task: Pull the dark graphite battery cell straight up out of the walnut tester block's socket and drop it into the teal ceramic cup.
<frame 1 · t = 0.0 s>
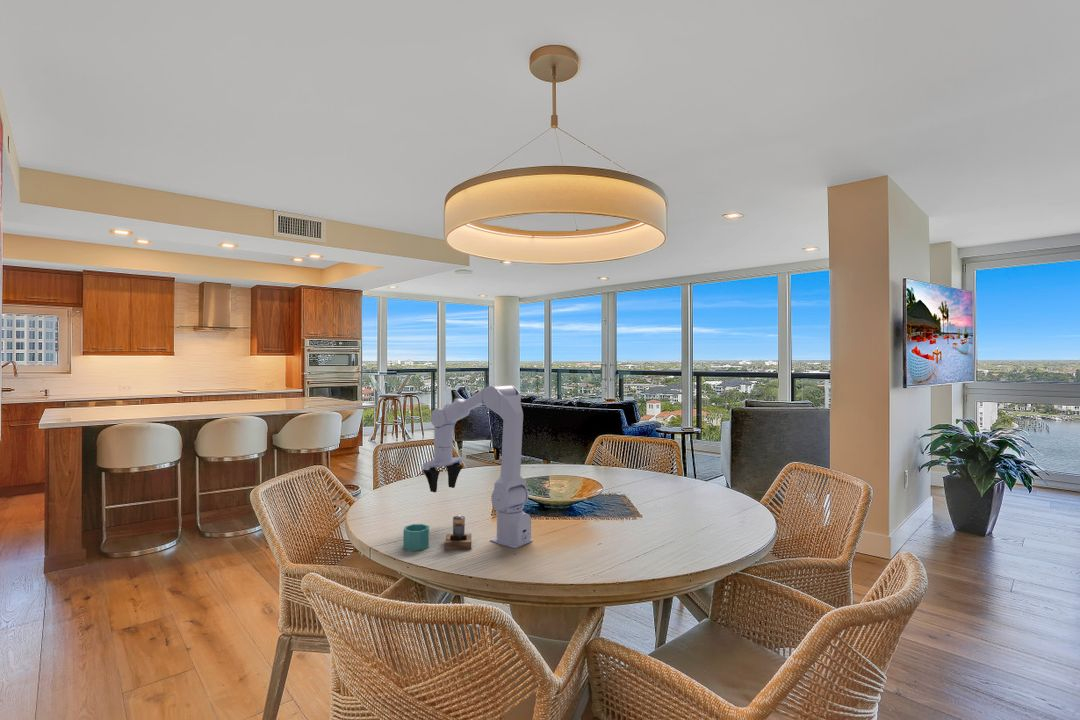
hand: (442, 489, 169), 10 cm above the table, tool pointing down, fingers open, 7 cm apart
cell: (458, 530, 147), in the tester block
cup: (416, 546, 146), on the table
tester block: (458, 545, 147), on the table
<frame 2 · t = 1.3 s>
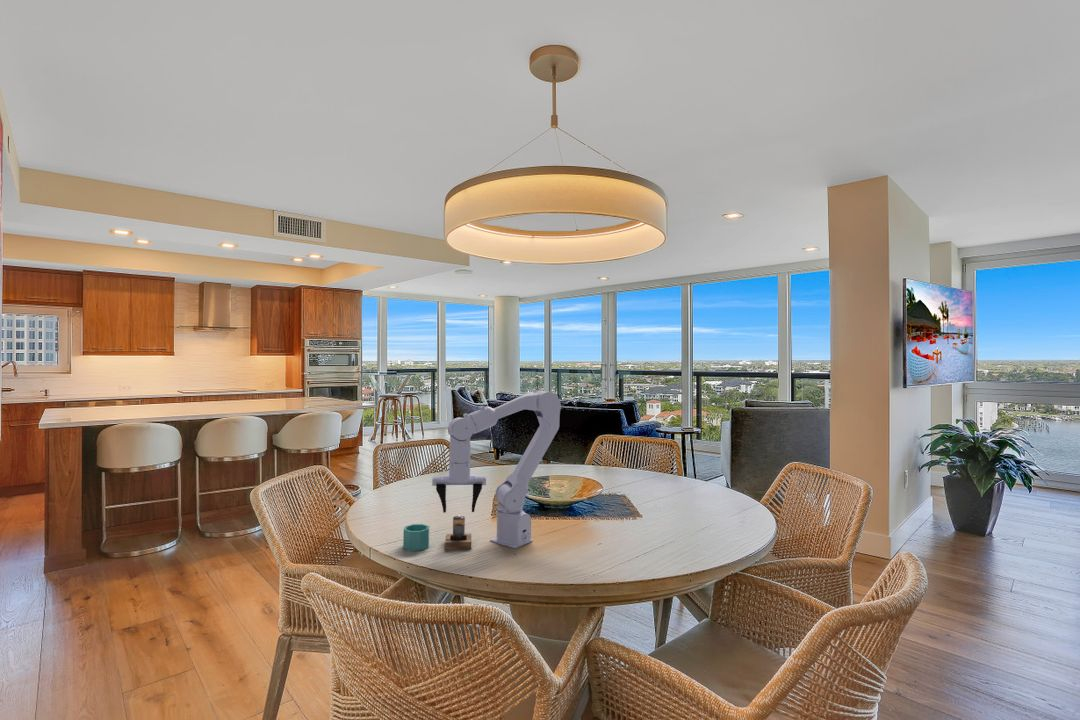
hand: (458, 511, 147), 9 cm above the table, tool pointing down, fingers open, 7 cm apart
nothing on the table moved.
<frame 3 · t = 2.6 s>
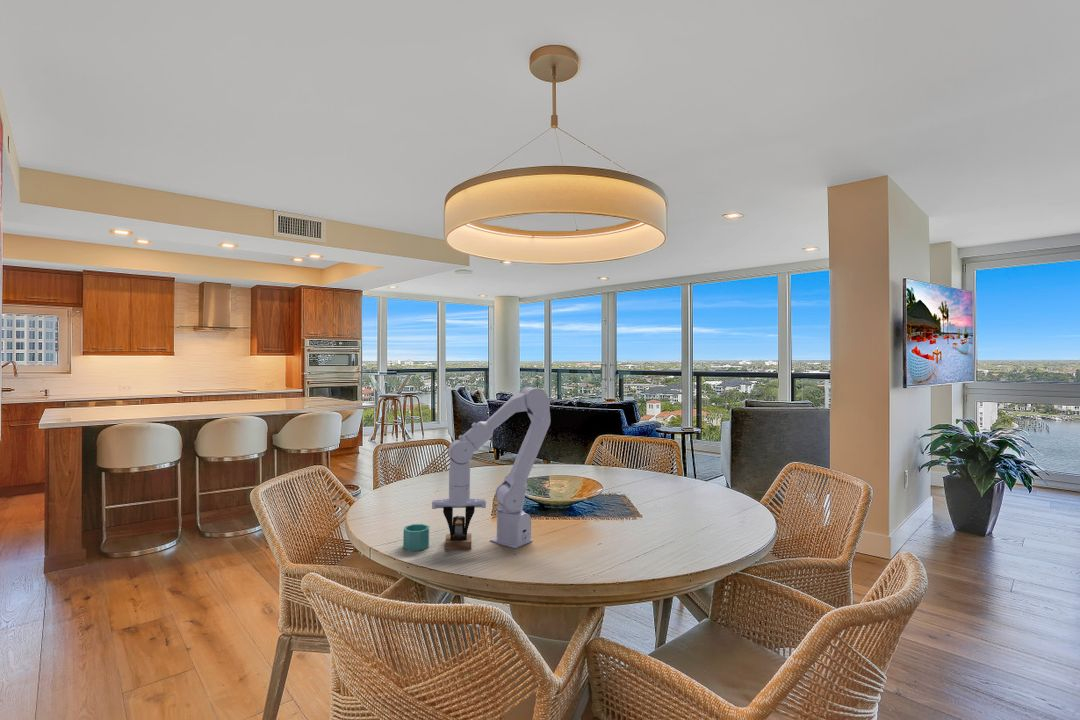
hand: (458, 534, 147), 3 cm above the table, tool pointing down, fingers closed on cell, 3 cm apart
cell: (458, 530, 147), in the tester block, touching gripper
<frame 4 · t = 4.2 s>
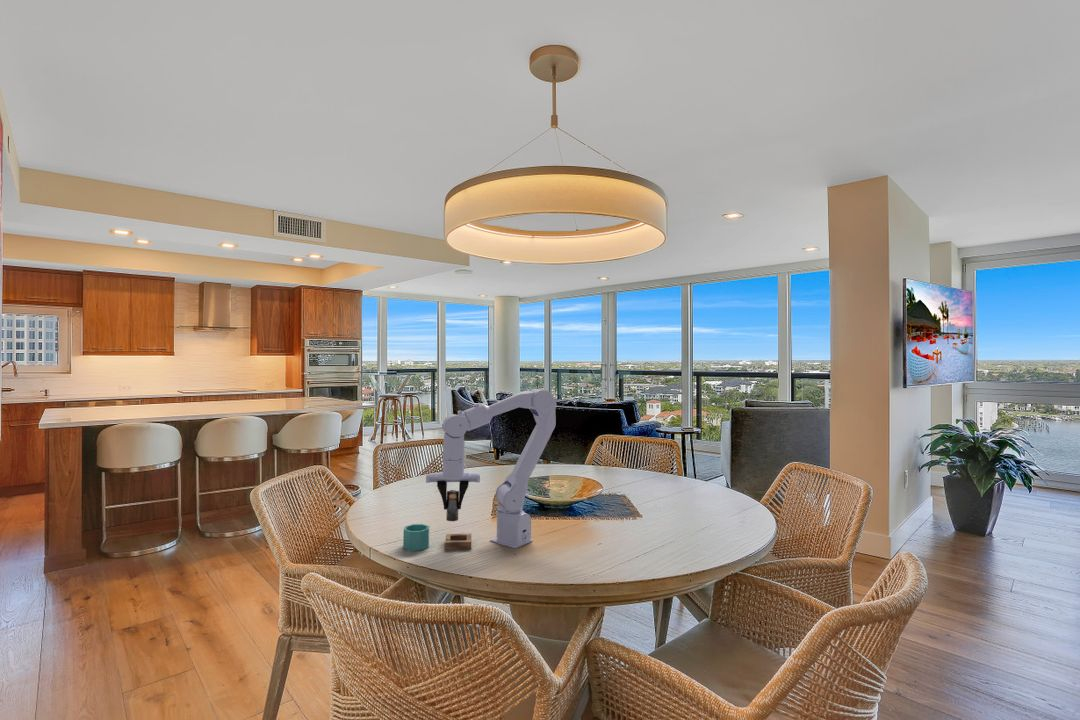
hand: (452, 508, 147), 10 cm above the table, tool pointing down, fingers closed on cell, 3 cm apart
cell: (452, 504, 147), point 11 cm above the table, touching gripper
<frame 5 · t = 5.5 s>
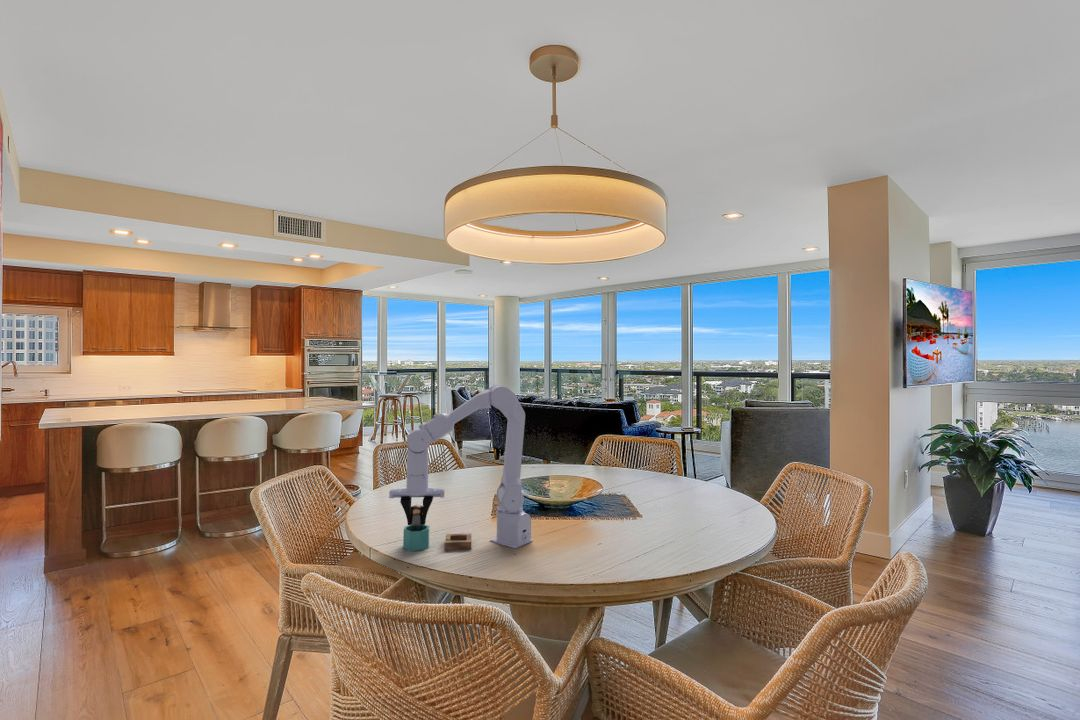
hand: (416, 523, 146), 6 cm above the table, tool pointing down, fingers closed on cell, 3 cm apart
cell: (416, 520, 146), point 7 cm above the table, touching gripper
when the fingers open (6 cm above the table, at t = 6.3 s): cell drops 2 cm, resting on cup.
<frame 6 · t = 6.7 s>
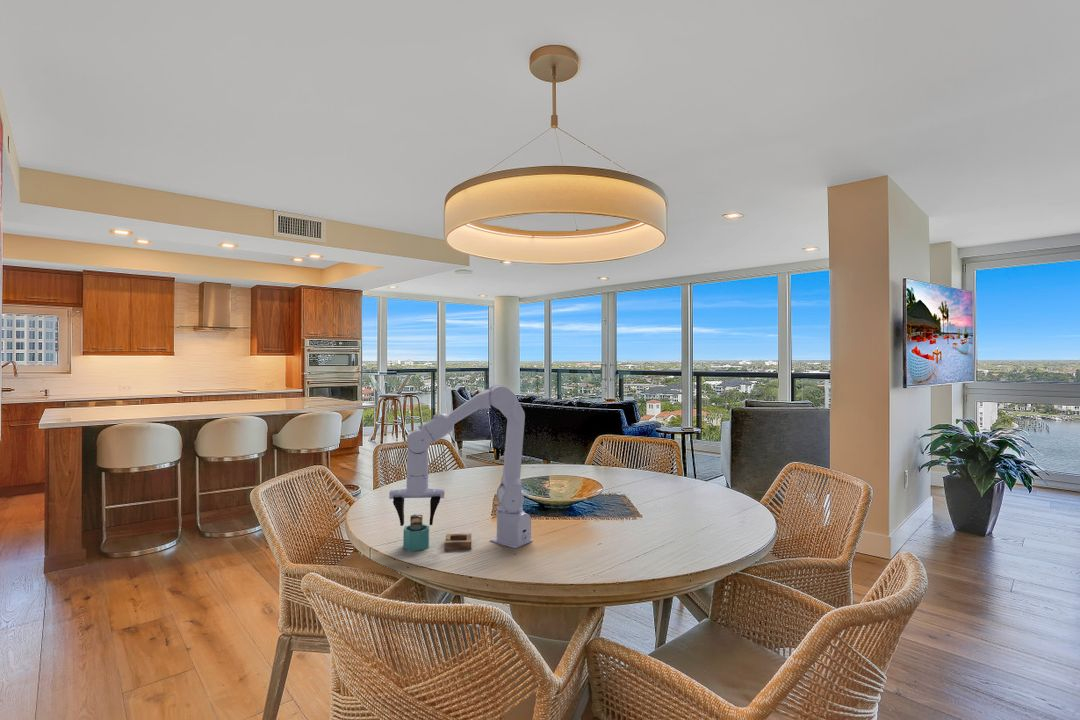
hand: (416, 524, 146), 6 cm above the table, tool pointing down, fingers open, 7 cm apart
cell: (416, 529, 146), in the cup, point 5 cm above the table
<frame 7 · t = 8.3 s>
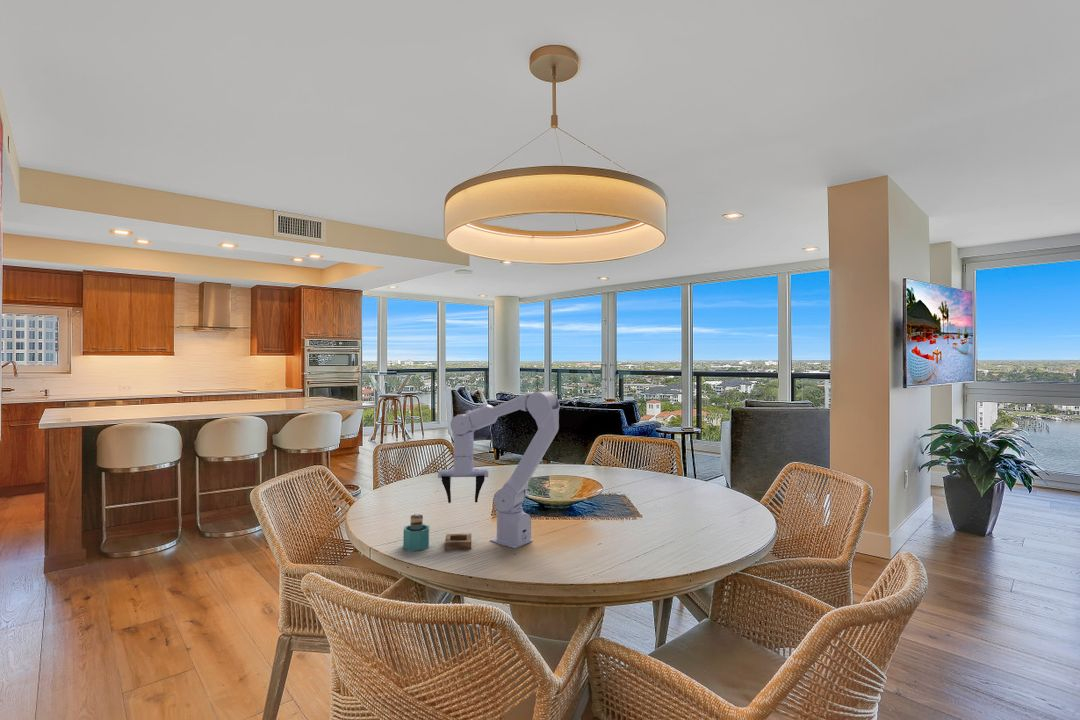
hand: (462, 501, 157), 9 cm above the table, tool pointing down, fingers open, 7 cm apart
nothing on the table moved.
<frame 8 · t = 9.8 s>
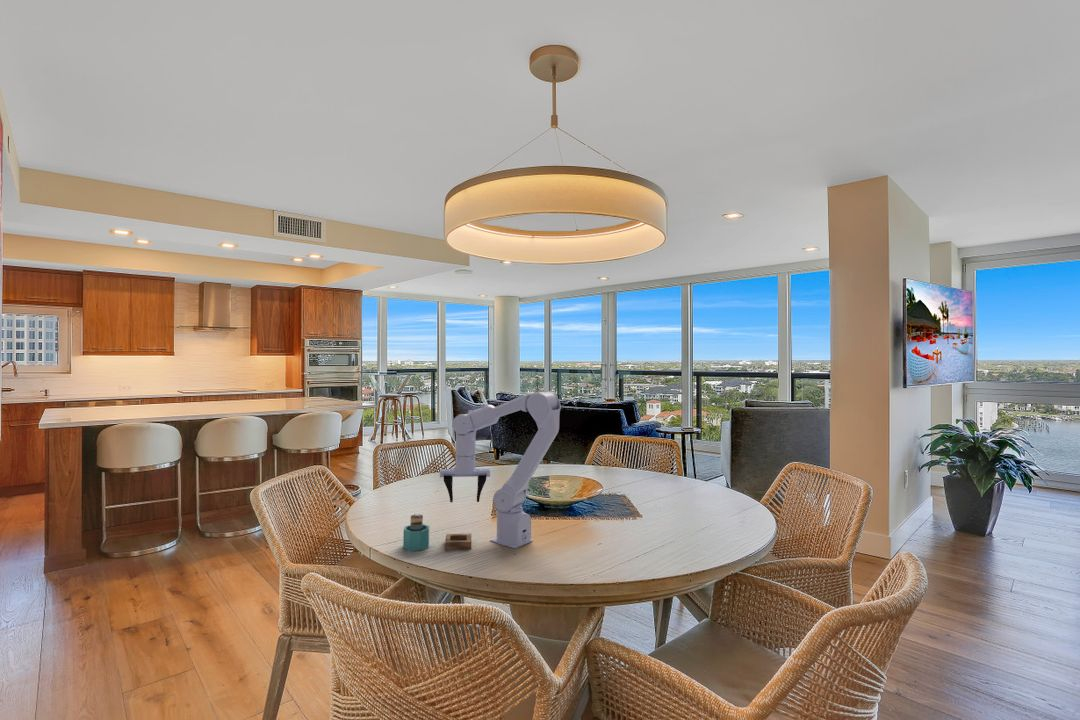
hand: (464, 501, 157), 9 cm above the table, tool pointing down, fingers open, 7 cm apart
nothing on the table moved.
at the end: cell 0.0 cm from the cup (horizontally); cell point 4.6 cm above the table; the gripper is holding nothing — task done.
